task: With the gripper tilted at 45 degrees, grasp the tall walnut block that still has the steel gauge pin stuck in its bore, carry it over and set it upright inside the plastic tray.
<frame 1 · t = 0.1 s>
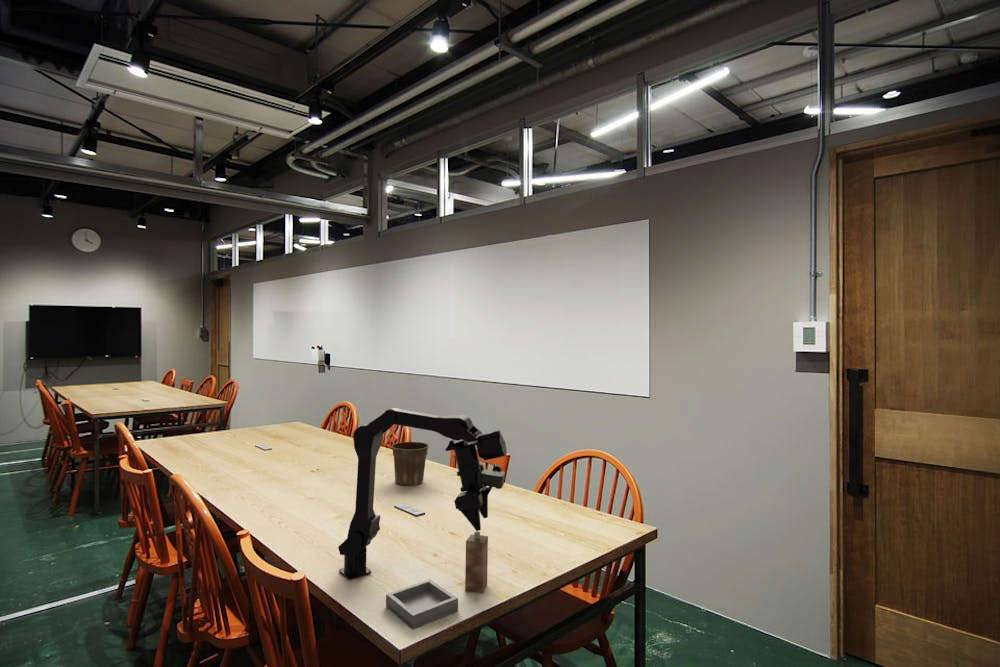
hand: (482, 523, 130), 15 cm above the table, tool pointing down, fingers open, 9 cm apart
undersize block: (476, 588, 128), on the table
plant pot: (409, 482, 223), on the table
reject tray: (421, 609, 118), on the table
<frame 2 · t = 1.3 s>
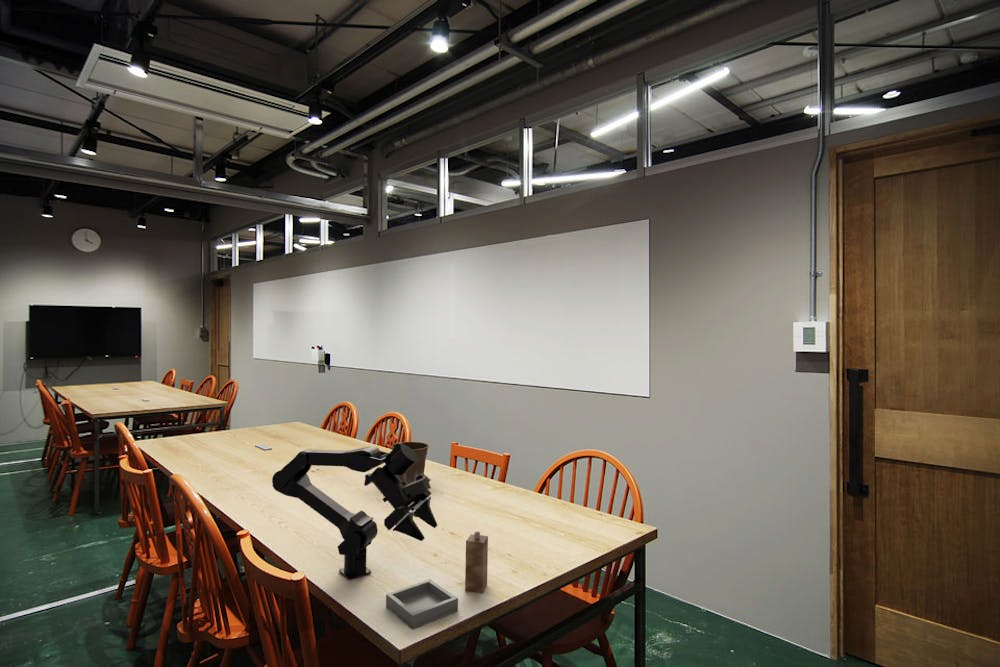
hand: (429, 533, 131), 13 cm above the table, tool tilted 45°, fingers open, 9 cm apart
nothing on the table moved.
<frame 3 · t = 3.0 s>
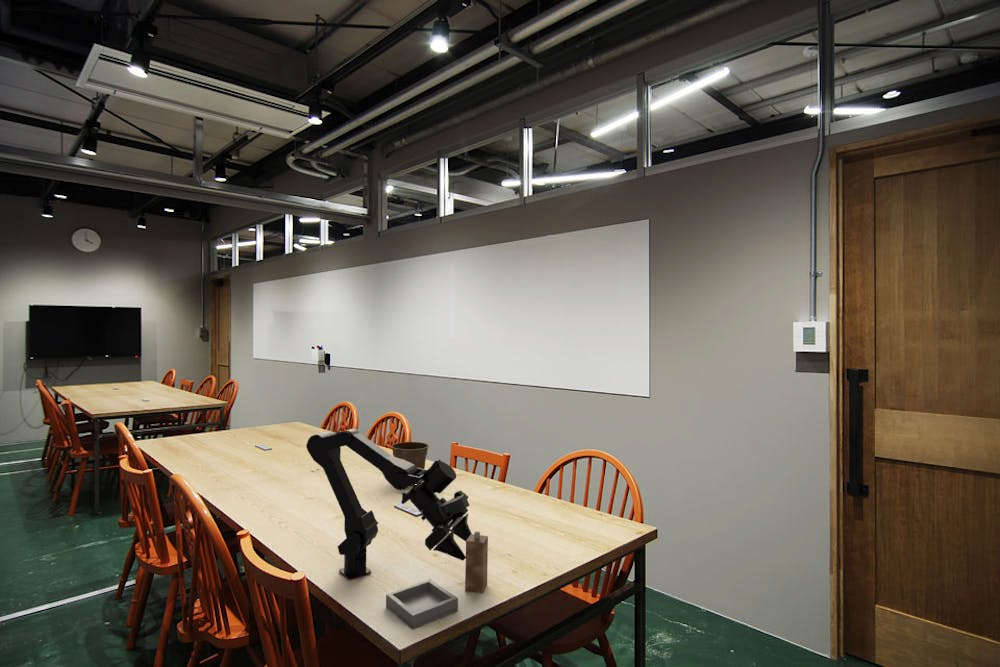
hand: (469, 551, 129), 9 cm above the table, tool tilted 45°, fingers open, 9 cm apart
nothing on the table moved.
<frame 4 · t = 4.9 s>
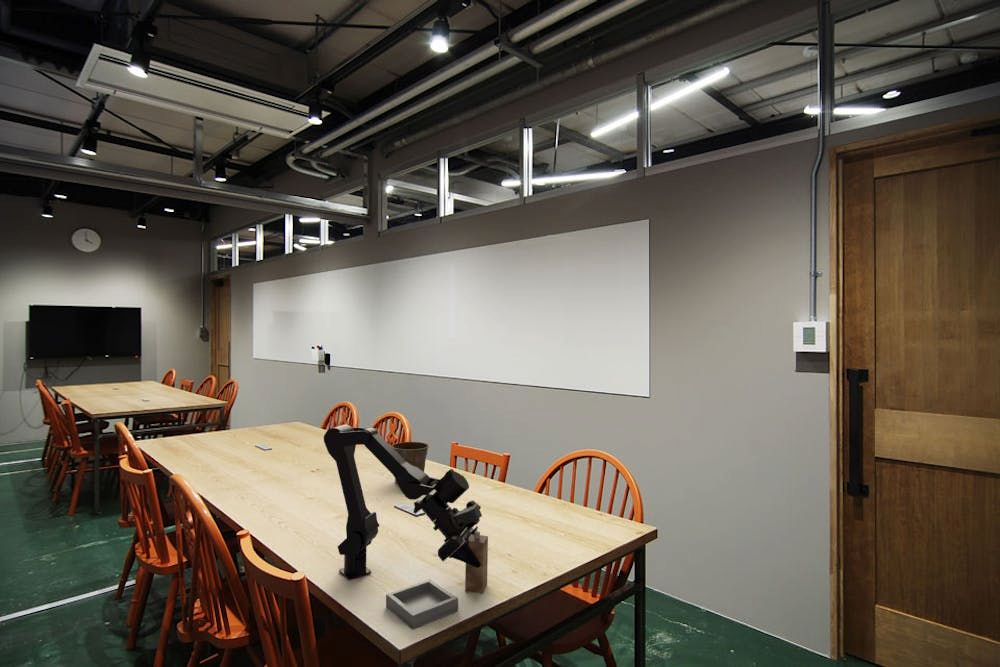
hand: (482, 562, 128), 7 cm above the table, tool tilted 45°, fingers closed on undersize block, 4 cm apart
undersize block: (476, 588, 128), on the table, touching gripper
everything else where it was.
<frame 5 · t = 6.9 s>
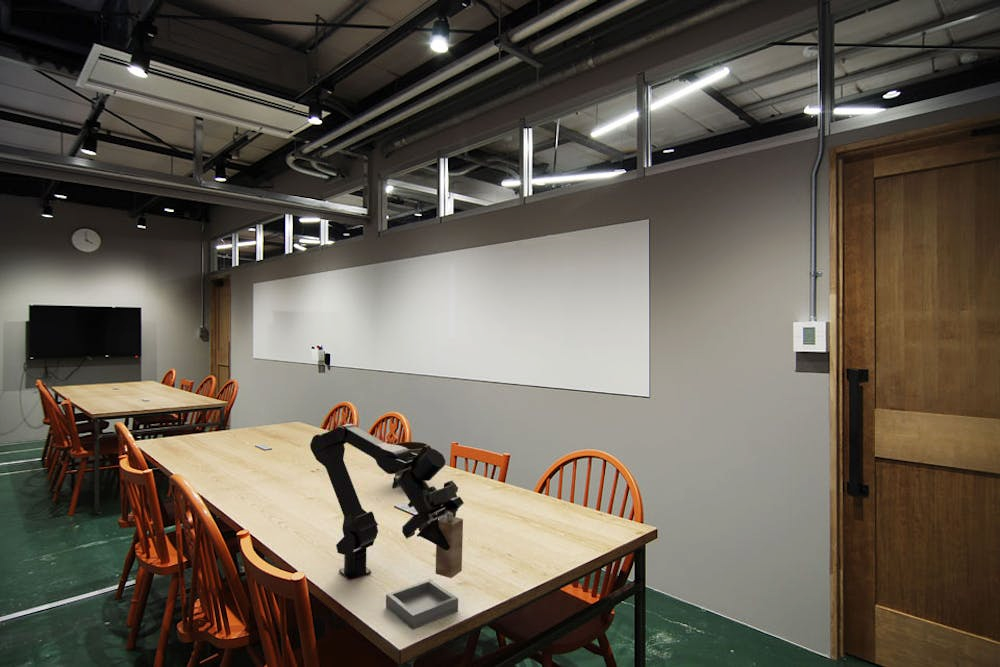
hand: (454, 545, 121), 13 cm above the table, tool tilted 45°, fingers closed on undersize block, 4 cm apart
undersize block: (448, 572, 122), point 7 cm above the table, touching gripper
everything else where it was.
when the fingers open (9 cm above the table, at t = 9.0 s): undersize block drops 1 cm, resting on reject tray.
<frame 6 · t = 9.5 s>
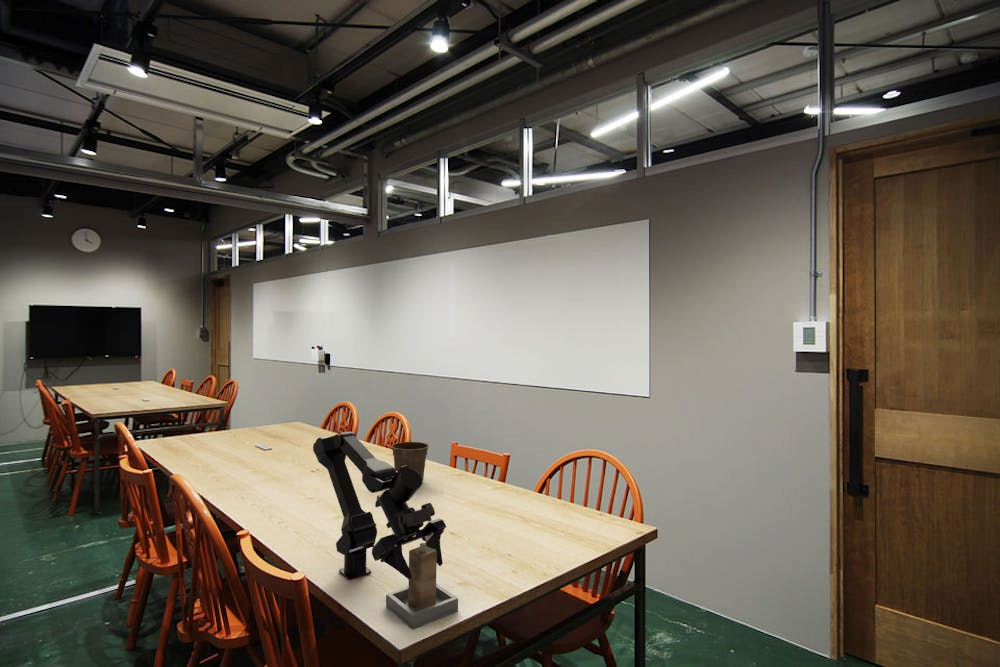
hand: (426, 571, 117), 9 cm above the table, tool tilted 45°, fingers open, 9 cm apart
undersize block: (422, 604, 118), point 1 cm above the table, touching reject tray
everything else where it was.
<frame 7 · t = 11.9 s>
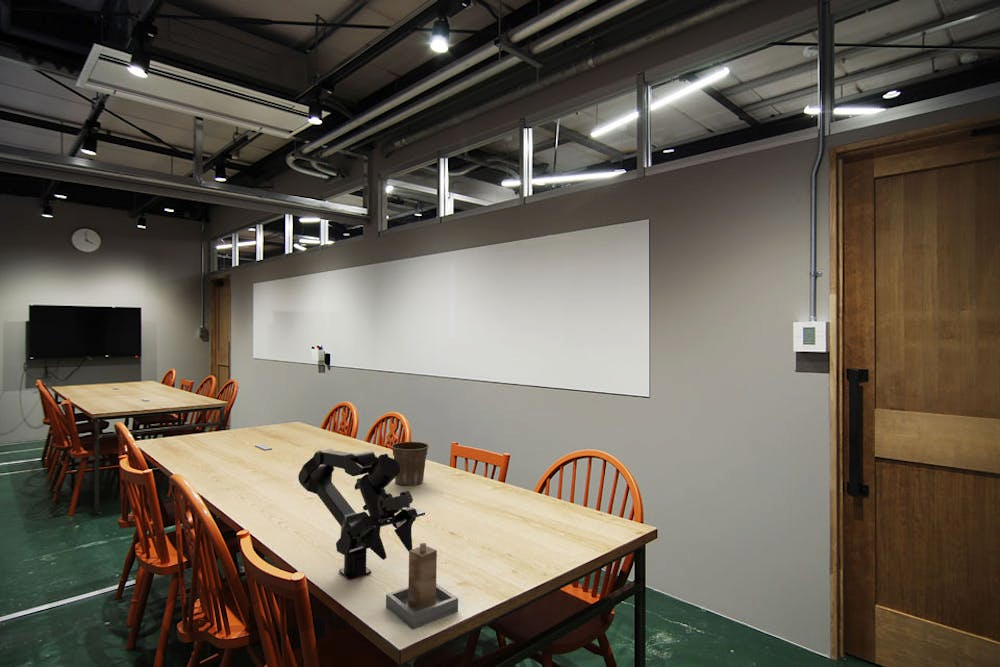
hand: (398, 554, 124), 10 cm above the table, tool tilted 40°, fingers open, 9 cm apart
nothing on the table moved.
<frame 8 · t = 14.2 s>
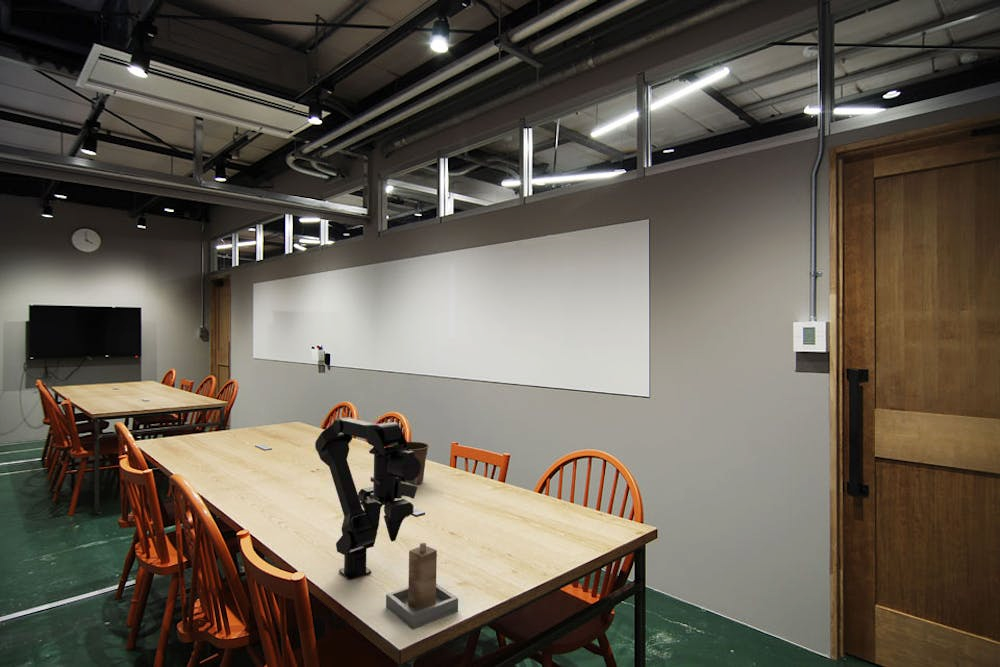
hand: (384, 535, 128), 13 cm above the table, tool pointing down, fingers open, 9 cm apart
nothing on the table moved.
at the end: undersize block inside the target area on the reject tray (0.0 cm from its centre), point 1.0 cm above the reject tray's base; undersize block tilted 0°; the gripper is holding nothing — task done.
